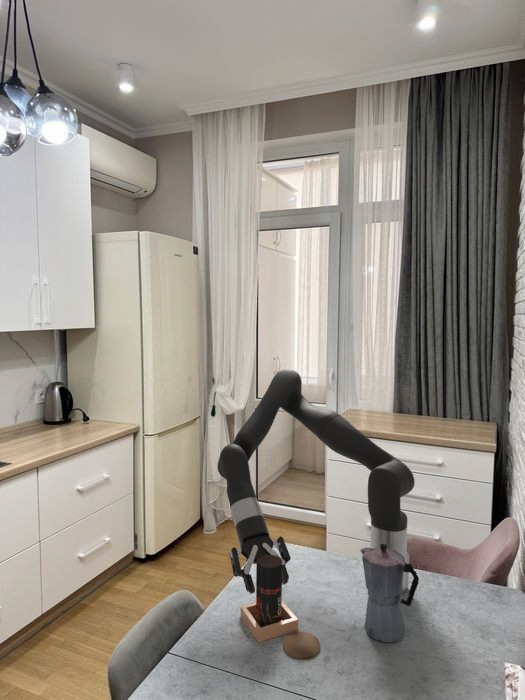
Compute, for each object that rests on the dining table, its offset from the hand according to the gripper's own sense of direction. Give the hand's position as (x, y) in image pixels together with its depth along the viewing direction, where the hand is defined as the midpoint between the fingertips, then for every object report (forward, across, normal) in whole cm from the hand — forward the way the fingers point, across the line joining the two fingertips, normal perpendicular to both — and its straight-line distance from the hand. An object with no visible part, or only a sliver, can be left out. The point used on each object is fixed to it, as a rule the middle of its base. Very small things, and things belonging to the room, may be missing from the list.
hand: (269, 588), depth 111 cm
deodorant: (+6, 0, -6) cm, 9 cm away
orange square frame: (+6, 0, -6) cm, 8 cm away
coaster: (+13, -3, +1) cm, 13 cm away
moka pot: (+16, -23, +4) cm, 28 cm away
